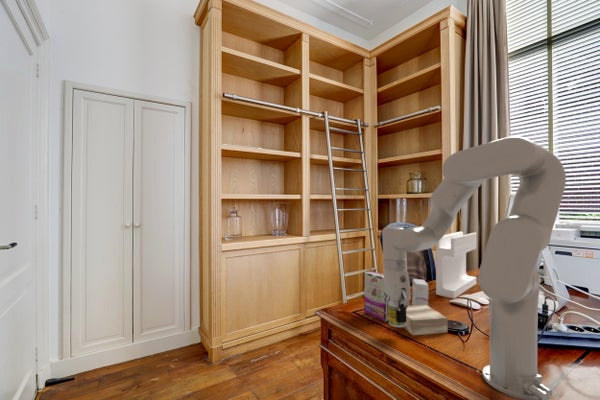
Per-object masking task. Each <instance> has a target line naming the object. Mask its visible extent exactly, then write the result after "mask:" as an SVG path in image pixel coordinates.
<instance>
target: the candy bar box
mask: <svg viewBox="0 0 600 400" xmlns="http://www.w3.org/2000/svg"><path fill="white" fill-rule="evenodd" d="M363 275H364V277H363V278H364V286H363V287H364V288H363V289H364V290H363V291H364V295H363V296H364V301H363V303H364V305H363V308H364V311H363V312H364V314H366V315H368V316H370V317H373V318H375V319H378V320H380V321H382V322H385V323H386V322H389V321H388V314H387V304H388V303H387V298H386V294H385V292H384V273H380V272H376V271H373V270H372V271H367V272H364V274H363Z"/></svg>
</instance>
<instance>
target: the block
mask: <svg viewBox="0 0 600 400" xmlns="http://www.w3.org/2000/svg"><path fill="white" fill-rule="evenodd" d="M477 237H478V236H477V232H471V233H467V234H464V232H463V231H457V232H452V233H447V234H445V235H444V236H443V237H442V238H441V239H440V241H439V242H438V243H437V244H436V245H435V248H436V249H435V253H436V254H435V257H436V258H435V294H436V295H438V296H441V297H445V298H451V299H455V298H457V297H459V296H460V295H462V294H463V293H464V292H467V290H468V291H469V289H471V288H472V287H474V286H475V285H476V284H477V277H476V276H471V275H468V274H467V253H469V252H471V251H475V250H477V241H478V239H477Z"/></svg>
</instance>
